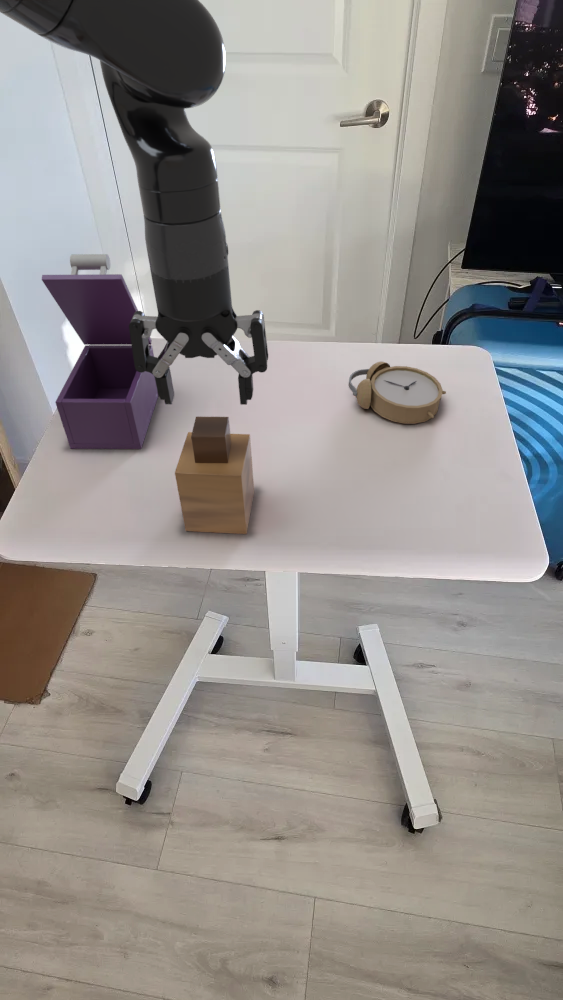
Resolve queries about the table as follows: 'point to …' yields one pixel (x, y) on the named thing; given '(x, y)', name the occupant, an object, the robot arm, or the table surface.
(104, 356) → the box
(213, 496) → the stand
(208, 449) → the block
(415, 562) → the table surface
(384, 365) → the alarm clock
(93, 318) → the lid
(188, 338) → the robot arm
